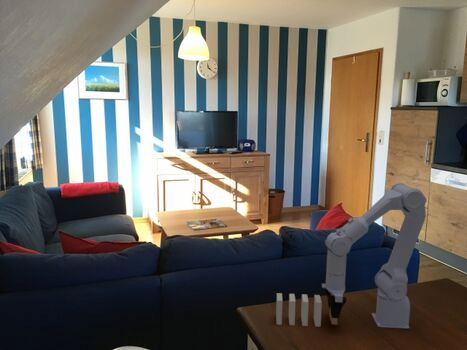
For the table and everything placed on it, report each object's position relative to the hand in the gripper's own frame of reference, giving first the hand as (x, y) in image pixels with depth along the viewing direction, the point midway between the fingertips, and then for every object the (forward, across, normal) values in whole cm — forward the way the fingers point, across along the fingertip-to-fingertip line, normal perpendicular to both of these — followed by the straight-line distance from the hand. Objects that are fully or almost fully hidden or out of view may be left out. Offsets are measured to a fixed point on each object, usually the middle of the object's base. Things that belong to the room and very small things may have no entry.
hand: (333, 312), depth 126 cm
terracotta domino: (+2, 0, 0) cm, 2 cm away
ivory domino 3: (+3, 0, -9) cm, 10 cm away
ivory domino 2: (+3, 0, -13) cm, 13 cm away
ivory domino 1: (+3, 0, -17) cm, 17 cm away
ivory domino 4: (+3, 0, -5) cm, 6 cm away
